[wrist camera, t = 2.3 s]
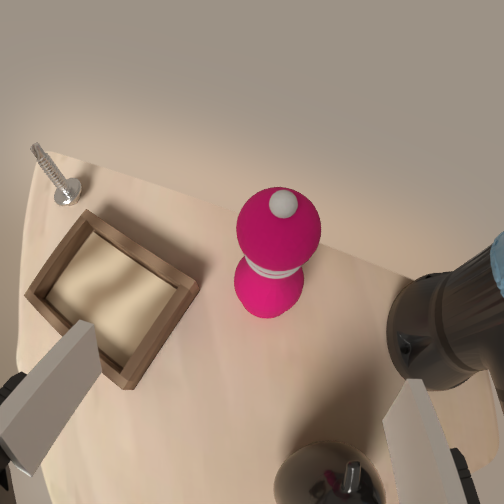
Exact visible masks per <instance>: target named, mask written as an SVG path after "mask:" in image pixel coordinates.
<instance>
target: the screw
mask: <svg viewBox="0 0 504 504" xmlns="http://www.w3.org/2000/svg"><path fill="white" fill-rule="evenodd" d="M30 150H31V151H32V152H33V154H34V155H35V157H36V158H37V162H38V164H39V165H40V167H41V168H42V170H44V172H45V173H46V175H48V177H49V178H50V180H52V182H53V183H54V185H55V186H56V187H57V189H56V191H55V194H54V200H55V202H56V203H57V204H58V205H59V206H67V205H68V206H71V205H73V204H76V203H77V202H78V200H79V198H80V193H81V189H82V185H81V183H80V181H79V180H78V179H76V178H69V179H67V180H66V179H65V177H64V176H63V174H61V172H60V170H59V169H58V167H57V166H56V164H54V162H53V161H52V159H51V158H50V156H49V155H48V154H47V153H45V152H44V151H43V149H42V148H41V147H40V145H39V144H38V143H35V144H33V145H32V146H31V148H30Z"/></svg>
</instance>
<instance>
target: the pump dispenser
mask: <svg viewBox="0 0 504 504" xmlns="http://www.w3.org/2000/svg"><path fill="white" fill-rule="evenodd" d="M274 497H275V501H276V503H277V504H386V494H385V489H384V486H383V483H382V480H381V478H380V476H379V473H378V472H377V470H376V468H375V467H374V465H373V464H372V462H371V461H370V460H369V459H368V458H367V457H366V456H365V455H364V454H363V453H362V452H361V451H360V450H358V449H357V448H355V447H353V446H351V445H349V444H346V443H343V442H339V441H321V442H316V443H313V444H310V445H307V446H305V447H303V448H301V449H299V450H297V451H296V452H294V453H293V454H292V455H291V456H290V457H288V458H287V459H286V460H285V462H284V463H283V464H282V465H281V467H280V469H279V470H278V472H277V474H276V477H275V481H274Z"/></svg>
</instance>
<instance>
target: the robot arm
mask: <svg viewBox="0 0 504 504" xmlns="http://www.w3.org/2000/svg"><path fill="white" fill-rule="evenodd" d="M387 345H388V350H389V353H390V357H391V359H392V362H393V364H394V366H395V368H396V369H397V371H398V372H399V373H400V375H401V376H402V377H403V378H404V379H405V380H406V381H405V383H404V385H403V386H402V388H401V390H400V392H399V394H398V395H397V397H396V399H395V400H394V402H393V404H392V405H391V407H390V409H389V410H388V412H387V414H386V415H385V417H384V418H383V420H382V422H383V426H384V431H385V435H386V439H387V444H388V448H389V453H390V457H391V462H392V467H393V472H394V477H395V482H396V487H397V492H398V498H399V504H480V502H479V498H478V496H477V492H476V489H475V486H474V483H473V480H472V478H471V474H470V471H469V470H468V466H467V463H466V460H465V457H464V456H463V455H462V453H461V452H460V451H459V450H458V449H457V448H452V449H449V446H448V443H447V440H446V438H445V435H444V432H443V430H442V427H441V425H440V422H439V419H438V417H437V414H436V412H435V409H434V407H433V405H432V402H431V400H430V397H429V395H428V393H427V391H444V390H449V389H452V388H455V387H457V386H459V385H461V384H462V383H464V382H465V381H467V380H468V379H469V378H470V377H471V376H472V375H474V374H475V373H477V372H479V371H482V370H488V369H489V371H490V374H491V377H492V380H493V382H494V385H495V388H496V391H497V394H498V398H499V401H500V404H501V407H502V411H503V414H504V231H503V232H502V233H501V234H499V236H498V237H496V238H495V240H494V243H493V244H491V245H490V246H488V247H487V248H486V249H484V250H483V251H482V252H480V253H479V254H477V255H476V256H475V257H473V258H472V259H470V260H469V261H467V262H466V263H464V264H463V265H462V266H460V267H459V268H457V269H456V270H454V271H451V272H443V273H433V274H428V275H425V276H422V277H420V278H418V279H416V280H415V281H414V282H412V283H411V284H409V285H408V286H407V287H406V288H404V289H403V290H402V291H401V293H400V294H399V295H398V296H397V298H396V299H395V301H394V303H393V305H392V307H391V310H390V313H389V317H388V322H387ZM101 372H102V368H101V363H100V357H99V352H98V346H97V340H96V334H95V328H94V324H92V323H89V322H86V321H83V320H79V321H78V322H77V323H76V324H75V325H74V326H73V327H72V328H71V329H70V330H69V331H68V332H67V333H66V334H65V335H64V336H63V337H62V338H61V339H60V340H59V341H58V342H57V343H56V344H55V345H54V346H53V347H52V349H51V350H50V351H49V352H48V353H47V354H46V355H45V356H44V357H43V358H42V359H41V360H40V361H39V362H38V364H37V365H36V366H35V367H34V368H33V369H32V370H31V371H30V372H29V373H28V375H27V374H25V373H23V372H20V373H18V374H16V375H14V376H12V377H11V378H10V379H9V380H8V381H7V382H6V383H5V384H4V385H3V388H1V389H0V504H16V500H15V495H14V490H13V485H12V479H11V473H10V469H9V466H8V463H9V462H10V460H11V461H12V462H13V463H14V465H15V466H16V467H17V468H18V469H19V470H21V471H23V472H24V473H26V474H27V475H29V476H31V477H33V475H34V473H35V472H36V470H37V469H38V467H39V465H40V464H41V462H42V461H43V459H44V457H45V456H46V454H47V453H48V451H49V450H50V448H51V446H52V445H53V443H54V442H55V440H56V439H57V437H58V436H59V434H60V433H61V431H62V430H63V428H64V427H65V425H66V424H67V422H68V421H69V419H70V418H71V416H72V415H73V413H74V412H75V410H76V409H77V407H78V406H79V404H80V403H81V401H82V400H83V398H84V397H85V395H86V394H87V392H88V391H89V390H90V388H91V387H92V385H93V384H94V382H95V381H96V380H97V378H98V377H99V375H100V374H101Z"/></svg>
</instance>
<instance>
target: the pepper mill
mask: <svg viewBox="0 0 504 504" xmlns="http://www.w3.org/2000/svg"><path fill="white" fill-rule="evenodd" d="M236 231H237V239H238V242H239V245H240V247H241V249H242V251H243V253H244V255H245V256H244V257H243V258H242V259H241V260H240V262H239V264H238V266H237V268H236V271H235V277H234V287H235V291H236V294H237V296H238V298H239V300H240V301H241V302H242V304H243V306H244V307H245V309H246V310H247V311H248V312H250V313H251V314H253V315H255V316H257V317H260V318H274V317H277V316H279V315H281V314H283V313H284V312H285V311H287V310H289V309H290V308H291V307H292V306H293V305H294V304H295V303H296V302H297V301H298V299H299V297H300V295H301V293H302V289H303V285H304V275H303V271H302V267H301V265H302V264H304V263H305V262H306V261H308V260H309V258H310V257H311V256H312V254H313V253H314V252H315V250H316V249H317V247H318V244H319V241H320V237H321V222H320V218H319V215H318V212H317V210H316V208H315V206H314V205H313V204H312V202H311V201H310V200H308V199H307V198H306V197H305V196H304V195H302V194H301V193H299V192H297V191H295V190H292V189H289V188H283V187H274V188H268V189H264V190H262V191H260V192H257V193H256V194H255V195H253V196H252V197H251V198H250V199H249V200H248V201H247V202H246V203H245V205H244V206H243V208H242V209H241V211H240V214H239V216H238V220H237V226H236Z"/></svg>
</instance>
